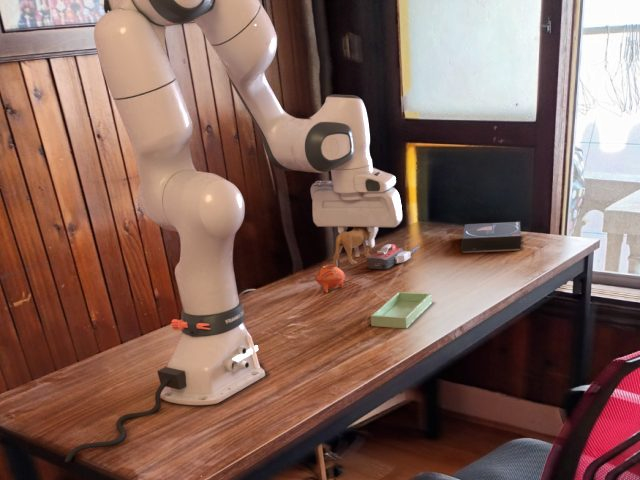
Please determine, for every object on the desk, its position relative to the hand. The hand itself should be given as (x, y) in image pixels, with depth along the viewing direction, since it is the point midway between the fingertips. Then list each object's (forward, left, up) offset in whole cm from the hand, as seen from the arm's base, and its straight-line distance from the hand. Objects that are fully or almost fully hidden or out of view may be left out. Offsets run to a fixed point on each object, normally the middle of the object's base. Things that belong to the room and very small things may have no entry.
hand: (359, 246), depth 167 cm
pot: (+20, +19, -17) cm, 32 cm away
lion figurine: (-2, +1, -3) cm, 3 cm away
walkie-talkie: (+47, +12, -17) cm, 51 cm away
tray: (+5, -7, -17) cm, 19 cm away
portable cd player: (+67, -11, -17) cm, 70 cm away
